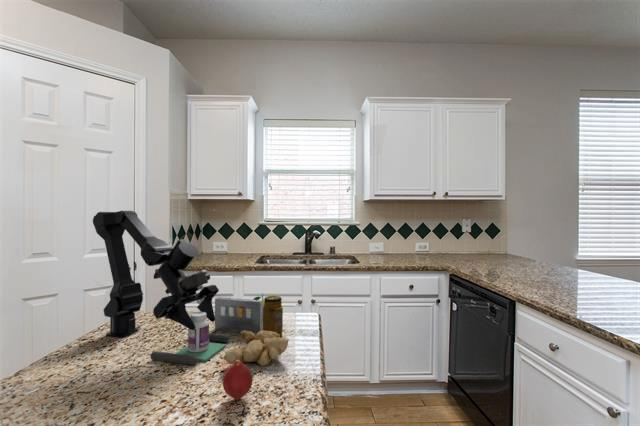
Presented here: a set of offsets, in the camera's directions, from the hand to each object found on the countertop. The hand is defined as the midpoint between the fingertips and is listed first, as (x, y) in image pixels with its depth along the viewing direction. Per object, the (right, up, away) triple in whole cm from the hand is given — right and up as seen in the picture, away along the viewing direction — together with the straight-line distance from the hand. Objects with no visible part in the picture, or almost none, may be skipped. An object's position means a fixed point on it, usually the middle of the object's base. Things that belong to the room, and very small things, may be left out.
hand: (204, 324), depth 87 cm
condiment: (+17, -8, +11) cm, 22 cm away
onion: (+15, -8, -22) cm, 28 cm away
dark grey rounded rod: (-6, -7, -6) cm, 11 cm away
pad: (-1, -7, +1) cm, 8 cm away
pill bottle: (-2, -7, +1) cm, 7 cm away
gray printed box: (+5, -8, +17) cm, 19 cm away
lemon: (+11, -8, +25) cm, 29 cm away
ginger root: (+15, -8, -3) cm, 18 cm away
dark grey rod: (-2, -8, +9) cm, 12 cm away
